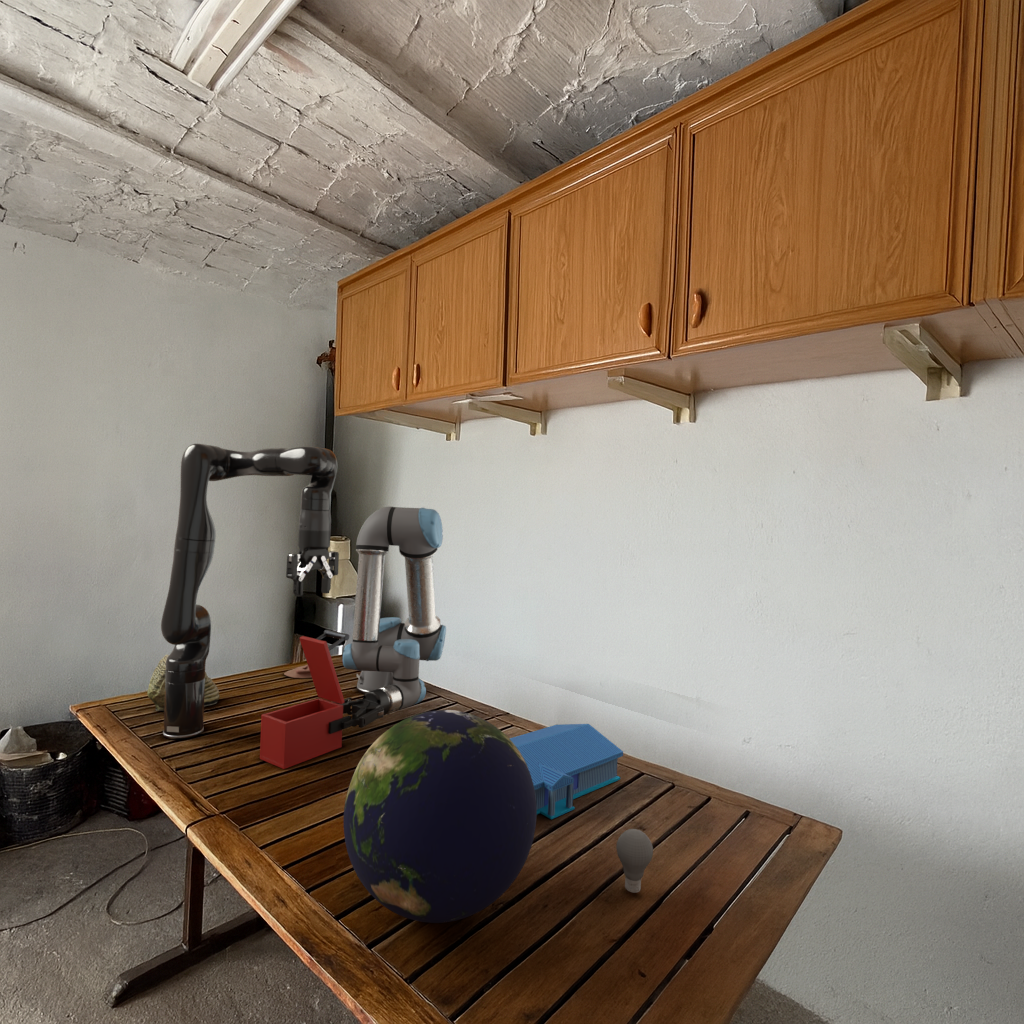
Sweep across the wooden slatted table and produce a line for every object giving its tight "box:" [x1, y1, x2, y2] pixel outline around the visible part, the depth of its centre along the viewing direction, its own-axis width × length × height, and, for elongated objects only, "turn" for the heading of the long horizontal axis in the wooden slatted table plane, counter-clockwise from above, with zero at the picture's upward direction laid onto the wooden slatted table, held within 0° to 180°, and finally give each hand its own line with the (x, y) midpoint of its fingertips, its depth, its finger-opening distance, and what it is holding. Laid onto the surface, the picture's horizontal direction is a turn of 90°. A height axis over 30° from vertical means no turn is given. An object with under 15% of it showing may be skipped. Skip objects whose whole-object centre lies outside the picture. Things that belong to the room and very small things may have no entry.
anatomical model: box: [283, 664, 312, 679], centre depth 222 cm, size 13×4×12 cm
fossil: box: [147, 654, 221, 712], centre depth 185 cm, size 9×18×15 cm, turn 132°
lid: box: [299, 629, 350, 704], centre depth 163 cm, size 18×9×8 cm
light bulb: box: [615, 828, 654, 894], centre depth 106 cm, size 6×6×10 cm
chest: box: [259, 697, 344, 770], centre depth 156 cm, size 17×9×11 cm, turn 146°
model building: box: [509, 723, 624, 820], centre depth 142 cm, size 39×24×10 cm, turn 132°
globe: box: [343, 709, 538, 924], centre depth 100 cm, size 30×30×30 cm
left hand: (312, 594), depth 156 cm, fingers open, 7 cm apart
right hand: (316, 723), depth 159 cm, fingers closed on chest, 9 cm apart
